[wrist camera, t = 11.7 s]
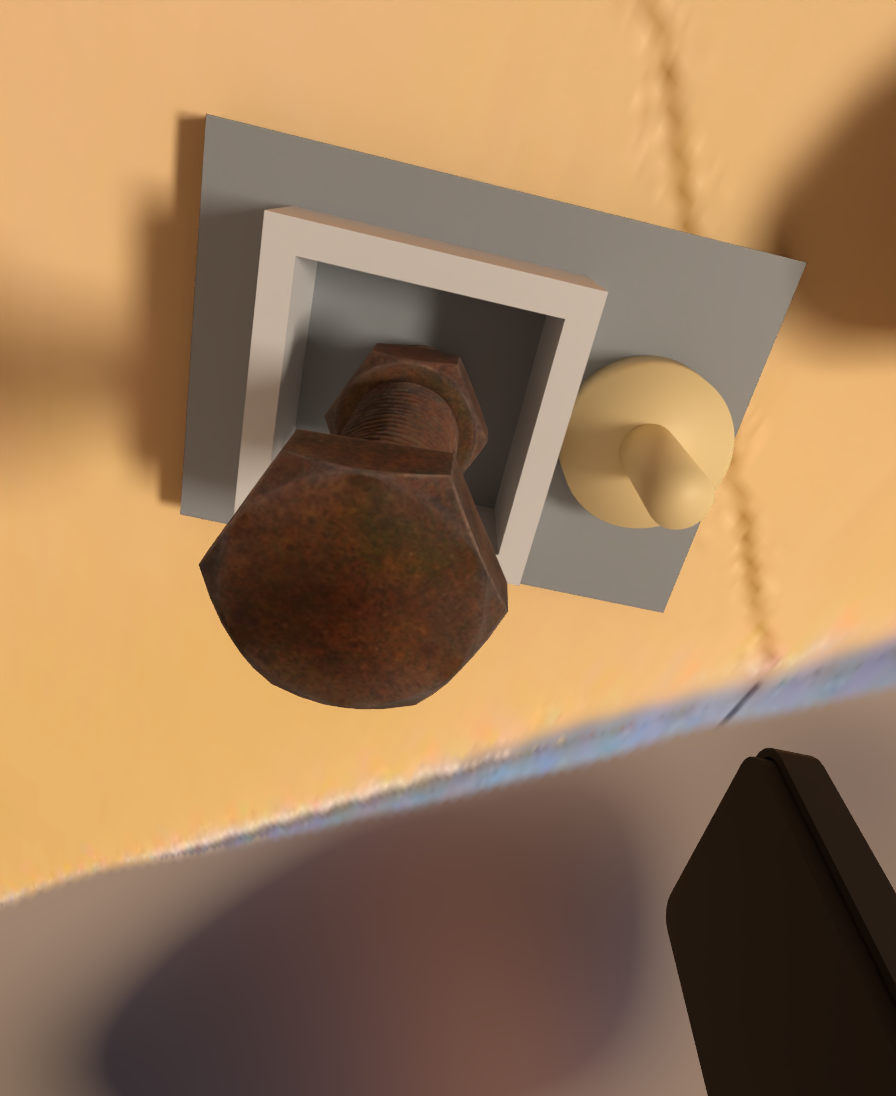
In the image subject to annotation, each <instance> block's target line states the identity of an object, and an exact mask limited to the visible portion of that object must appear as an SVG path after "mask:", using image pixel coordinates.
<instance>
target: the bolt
mask: <svg viewBox="0 0 896 1096" xmlns="http://www.w3.org/2000/svg"><path fill="white" fill-rule="evenodd" d="M324 417H325V420H326V423H327V426H328V429H329V432H330V434H327V433H320V432H314V431H307V430H301V429H296V431H295V432H294V433H293V435H292V436H291V437H290V439H289V440H288V441H287V443H286V444H285V445H284V447H283V448H282V449H281V451H280V452H279V454H278V455H277V456H276V458H275V459H274V460H273V462H272V463H271V464H270V466H269V467H268V468H267V470H266V471H265V472H264V474H263V475H262V476H261V478H260V479H259V481H258V482H257V483H256V485H255V486H254V487H253V489H252V490H251V492H250V493H249V494H248V496H247V497H246V499H245V500H244V501H243V503H242V504H241V506H240V507H239V508H238V510H237V511H236V513H235V514H234V515H233V517H232V518H231V519H230V521H229V522H228V524H227V525H226V526H225V528H224V529H223V531H222V532H221V533H220V535H219V536H218V537H217V539H216V540H215V542H214V543H213V544H212V546H211V547H210V548H209V550H208V551H207V553H206V554H205V556H204V557H203V559H202V560H201V562H200V563H199V567H200V570H201V573H202V576H203V578H204V581H205V584H206V587H207V590H208V593H209V596H210V599H211V601H212V603H213V605H214V607H215V610H216V612H217V614H218V616H219V618H220V621H221V623H222V625H223V626H224V628H225V630H226V631H227V633H228V635H229V636H230V638H231V639H232V641H233V642H234V644H235V645H236V647H237V648H238V650H239V651H240V653H241V654H242V655H243V656H244V658H245V659H246V660H247V661H248V662H249V663H250V664H251V666H252V667H253V668H254V669H255V670H256V671H257V672H259V673H260V674H261V675H262V676H263V677H264V678H266V679H267V680H268V681H269V682H270V683H271V684H273V685H275V686H277V687H279V688H282V689H284V690H286V691H288V692H290V693H293V694H295V695H297V696H299V697H302V698H306V699H309V700H312V701H315V702H318V703H321V704H325V705H331V706H337V707H344V708H354V709H386V708H395V707H403V706H411V705H416V704H417V703H419V702H421V701H423V700H424V699H426V698H428V697H429V696H431V695H433V694H434V693H435V692H437V691H438V690H439V689H440V688H442V687H443V686H444V685H446V684H447V683H448V682H449V681H450V680H451V679H452V678H453V677H454V676H455V675H456V674H457V673H458V672H459V671H460V670H461V669H462V668H463V666H464V665H465V664H466V663H467V662H468V661H469V660H470V659H471V658H472V657H473V656H474V655H475V653H476V652H477V651H478V650H479V649H480V648H481V647H482V645H483V644H484V643H485V642H486V641H487V640H488V638H489V637H490V636H491V634H492V633H493V631H494V630H495V629H496V627H497V626H498V624H499V623H500V622H501V620H502V619H503V617H504V616H505V615H506V613H507V612H508V594H507V581H506V578H505V576H504V574H503V571H502V569H501V566H500V564H499V561H498V559H497V557H496V554H495V552H494V549H493V547H492V544H491V542H490V540H489V537H488V535H487V532H486V530H485V527H484V525H483V523H482V520H481V518H480V515H479V513H478V511H477V508H476V506H475V503H474V501H473V498H472V496H471V494H470V491H469V489H468V486H467V484H466V481H465V479H464V477H463V473H464V472H465V471H466V470H467V468H468V467H469V466H470V465H471V463H472V462H473V461H474V460H475V458H476V457H477V456H478V454H479V453H480V452H481V450H482V449H483V447H484V446H485V445H486V443H487V442H488V429H487V426H486V423H485V420H484V417H483V414H482V411H481V408H480V405H479V403H478V400H477V397H476V395H475V392H474V389H473V387H472V384H471V382H470V379H469V377H468V374H467V372H466V370H465V368H464V365H463V363H462V361H461V359H460V356H458V355H454V354H450V353H446V352H442V351H440V350H438V349H435V348H433V347H430V346H426V345H409V346H408V345H400V344H386V343H377V344H376V345H375V346H374V348H373V349H372V350H371V352H370V353H369V354H368V356H367V357H366V358H365V360H364V361H363V363H362V364H361V365H360V367H359V368H358V369H357V371H356V372H355V373H354V375H353V376H352V378H351V379H350V380H349V382H348V383H347V384H346V386H345V387H344V388H343V390H342V391H341V393H340V394H339V396H338V397H337V398H336V400H335V401H334V403H333V404H332V405H331V407H330V408H329V410H328V411H327V413H326V414H325V415H324Z"/></svg>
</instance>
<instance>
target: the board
mask: <svg viewBox="0 0 896 1096" xmlns="http://www.w3.org/2000/svg"><path fill="white" fill-rule="evenodd" d="M805 266H806V262H802V261H798V260H794V259H790V258H786V257H782V256H778V255H774V254H770V253H766V252H762V251H758V250H754V249H750V248H746V247H742V246H738V245H734V244H730V243H726V242H722V241H718V240H714V239H710V238H705V237H701V236H697V235H693V234H689V233H685V232H681V231H677V230H673V229H669V228H665V227H661V226H657V225H653V224H649V223H645V222H641V221H637V220H633V219H629V218H625V217H621V216H617V215H613V214H609V213H605V212H601V211H597V210H592V209H588V208H584V207H580V206H576V205H572V204H568V203H564V202H560V201H556V200H552V199H548V198H544V197H540V196H536V195H532V194H528V193H524V192H520V191H516V190H512V189H508V188H504V187H500V186H496V185H492V184H488V183H483V182H479V181H475V180H471V179H467V178H463V177H459V176H455V175H451V174H447V173H443V172H439V171H435V170H431V169H427V168H423V167H419V166H415V165H411V164H407V163H403V162H399V161H395V160H391V159H387V158H383V157H379V156H375V155H370V154H366V153H362V152H358V151H354V150H350V149H346V148H342V147H338V146H334V145H330V144H326V143H322V142H318V141H314V140H310V139H306V138H302V137H298V136H294V135H290V134H286V133H282V132H278V131H274V130H270V129H266V128H262V127H257V126H253V125H249V124H245V123H241V122H237V121H233V120H229V119H225V118H221V117H217V116H213V115H209V114H206V126H205V141H204V156H203V172H202V187H201V202H200V218H199V233H198V248H197V264H196V279H195V295H194V310H193V325H192V341H191V356H190V371H189V387H188V402H187V417H186V433H185V448H184V464H183V479H182V494H181V510H180V514H181V515H186V516H191V517H196V518H200V519H205V520H210V521H215V522H220V523H225V524H228V522H229V521H230V519H231V518H232V517H233V515H234V514H235V513H236V511H237V510H238V508H239V507H240V506H241V504H242V503H243V501H244V500H245V499H246V497H247V496H248V494H249V493H250V492H251V490H252V489H253V487H254V486H255V485H256V483H257V482H258V481H259V479H260V478H261V476H262V475H263V474H264V472H265V471H266V470H267V468H268V467H269V466H270V464H271V463H272V462H273V460H274V459H275V458H276V456H277V455H278V454H279V452H280V451H281V449H282V448H283V447H284V445H285V444H286V443H287V441H288V440H289V439H290V437H291V436H292V435H293V433H294V432H295V431H296V429H301V430H307V431H314V432H320V433H327V434H330V432H329V429H328V426H327V423H326V420H325V417H324V415H325V414H326V413H327V411H328V410H329V408H330V407H331V405H332V404H333V403H334V401H335V400H336V398H337V397H338V396H339V394H340V393H341V391H342V390H343V388H344V387H345V386H346V384H347V383H348V382H349V380H350V379H351V378H352V376H353V375H354V373H355V372H356V371H357V369H358V368H359V367H360V365H361V364H362V363H363V361H364V360H365V358H366V357H367V356H368V354H369V353H370V352H371V350H372V349H373V348H374V346H375V345H376V344H377V343H386V344H400V345H408V346H409V345H426V346H430V347H433V348H435V349H438V350H440V351H442V352H446V353H450V354H454V355H458V356H460V359H461V361H462V363H463V365H464V368H465V370H466V372H467V374H468V377H469V379H470V382H471V384H472V387H473V389H474V392H475V395H476V397H477V400H478V403H479V405H480V408H481V411H482V414H483V417H484V420H485V423H486V426H487V429H488V442H487V443H486V445H485V446H484V447H483V449H482V450H481V452H480V453H479V454H478V456H477V457H476V458H475V460H474V461H473V462H472V463H471V465H470V466H469V467H468V468H467V470H466V471H465V472H464V473H463V477H464V479H465V481H466V484H467V486H468V489H469V491H470V494H471V496H472V498H473V501H474V503H475V506H476V508H477V511H478V513H479V515H480V518H481V520H482V523H483V525H484V527H485V530H486V532H487V535H488V537H489V540H490V542H491V544H492V547H493V549H494V552H495V554H496V557H497V559H498V561H499V564H500V566H501V569H502V571H503V574H504V576H505V578H506V581H507V583H508V584H513V585H518V586H519V585H520V584H524V585H529V586H534V587H539V588H544V589H549V590H554V591H559V592H564V593H569V594H574V595H578V596H583V597H588V598H593V599H598V600H603V601H608V602H613V603H618V604H623V605H628V606H632V607H637V608H642V609H647V610H652V611H657V612H662V613H663V612H664V609H665V607H666V604H667V602H668V600H669V597H670V595H671V592H672V590H673V587H674V585H675V583H676V580H677V578H678V575H679V573H680V570H681V568H682V565H683V563H684V561H685V558H686V556H687V553H688V551H689V548H690V546H691V544H692V541H693V539H694V536H695V534H696V531H697V529H698V527H699V524H700V522H701V520H703V519H704V518H705V517H706V515H707V514H708V513H709V511H710V510H711V508H712V505H713V502H714V495H715V494H714V492H715V490H716V489H717V488H718V486H719V485H720V483H721V482H722V480H723V479H724V476H725V474H726V472H727V470H728V468H729V465H730V462H731V459H732V455H733V450H734V439H735V436H736V434H737V432H738V429H739V427H740V424H741V422H742V419H743V417H744V414H745V412H746V410H747V407H748V405H749V402H750V400H751V397H752V395H753V393H754V390H755V388H756V385H757V383H758V380H759V378H760V376H761V373H762V371H763V368H764V366H765V363H766V361H767V358H768V356H769V354H770V351H771V349H772V346H773V344H774V341H775V339H776V337H777V334H778V332H779V329H780V327H781V324H782V322H783V320H784V317H785V315H786V312H787V310H788V307H789V305H790V302H791V300H792V298H793V295H794V293H795V290H796V288H797V285H798V283H799V281H800V278H801V276H802V273H803V271H804V268H805Z"/></svg>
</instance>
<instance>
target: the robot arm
mask: <svg viewBox="0 0 896 1096" xmlns="http://www.w3.org/2000/svg"><path fill="white" fill-rule="evenodd" d="M666 924H667V930H668V934H669V938H670V942H671V946H672V950H673V954H674V959H675V962H676V967H677V971H678V975H679V979H680V983H681V987H682V992H683V996H684V1000H685V1004H686V1008H687V1012H688V1016H689V1020H690V1024H691V1028H692V1032H693V1037H694V1041H695V1045H696V1049H697V1053H698V1057H699V1061H700V1065H701V1069H702V1074H703V1078H704V1082H705V1086H706V1090H707V1094H708V1096H896V893H895V891H894V889H893V887H892V886H891V884H890V882H889V880H888V879H887V877H886V875H885V873H884V872H883V870H882V868H881V866H880V865H879V863H878V861H877V859H876V858H875V856H874V854H873V852H872V851H871V849H870V847H869V845H868V844H867V842H866V840H865V838H864V836H863V835H862V833H861V832H860V829H859V828H858V826H857V824H856V822H855V821H854V819H853V817H852V815H851V814H850V812H849V810H848V808H847V807H846V805H845V803H844V801H843V800H842V798H841V796H840V794H839V792H838V791H837V789H836V787H835V786H834V784H833V782H832V780H831V779H830V777H829V775H828V773H827V771H826V770H825V768H824V766H823V765H822V764H821V762H820V761H819V760H818V759H816V758H814V757H812V756H808V755H803V754H798V753H793V752H788V751H783V750H778V749H773V748H765V749H763V750H762V751H760V752H759V753H758V755H757V756H756V757H748V758H746V759H745V760H744V761H743V763H742V764H741V766H740V768H739V769H738V771H737V774H736V775H735V777H734V779H733V780H732V782H731V784H730V786H729V788H728V790H727V792H726V793H725V795H724V797H723V799H722V801H721V803H720V804H719V806H718V808H717V810H716V812H715V814H714V816H713V817H712V819H711V821H710V823H709V825H708V826H707V828H706V830H705V832H704V834H703V836H702V837H701V839H700V841H699V843H698V845H697V847H696V849H695V850H694V852H693V854H692V856H691V858H690V859H689V861H688V863H687V865H686V867H685V869H684V871H683V873H682V874H681V876H680V878H679V880H678V882H677V884H676V885H675V887H674V889H673V891H672V893H671V894H670V897H669V899H668V903H667V909H666Z"/></svg>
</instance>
